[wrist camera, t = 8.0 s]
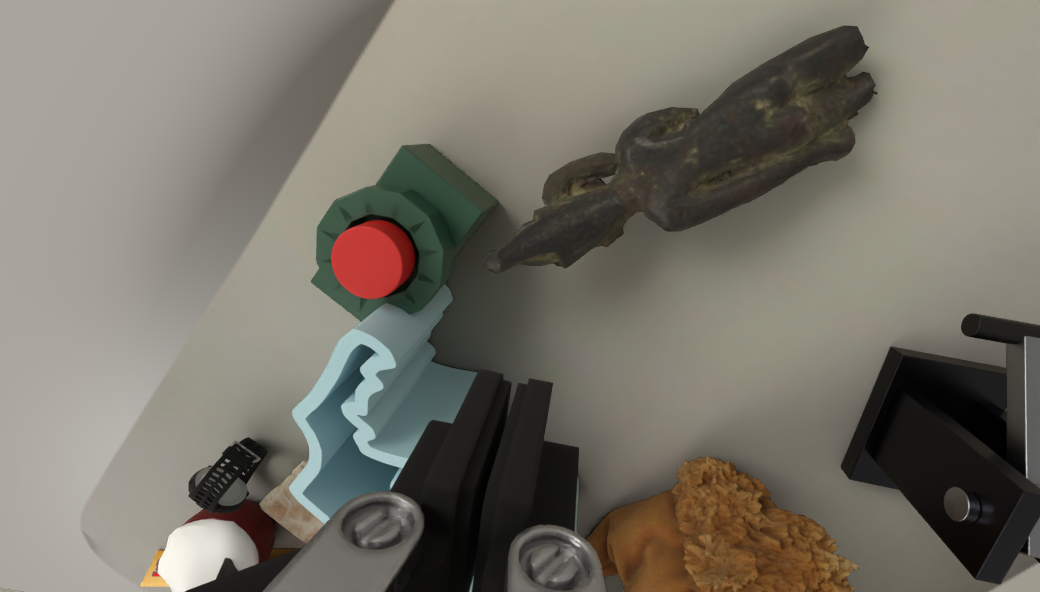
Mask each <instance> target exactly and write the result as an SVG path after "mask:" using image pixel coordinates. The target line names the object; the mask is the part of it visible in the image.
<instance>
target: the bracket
mask: <svg viewBox="0 0 1040 592" xmlns="http://www.w3.org/2000/svg"><path fill="white" fill-rule="evenodd" d="M1006 408H1007V394H1006V368H1003V367H998V366H992V365H987V364H981V363H976V362H971V361H965V360H960V359H955V358H949V357H944V356H938V355H933V354H928V353H922V352H917V351H912V350H906V349H901V348H895V347H890V349H889V352H888V354H887V357H886V359H885V361H884V364H883V366H882V369H881V371H880V373H879V376H878V378H877V381H876V383H875V385H874V388H873V390H872V393H871V395H870V397H869V400H868V402H867V405H866V407H865V409H864V412H863V414H862V417H861V419H860V421H859V424H858V426H857V429H856V431H855V433H854V436H853V438H852V441H851V443H850V445H849V448H848V450H847V453H846V455H845V457H844V460H843V462H842V465H841V469H842V470H843V471H844V473H845V474H846V475H847V477H848V478H849V479H850V480H855V481H860V482H865V483H869V484H874V485H879V486H884V487H889V488H893V489H898V490H900V491H901V493H902V494H903V495H904V496H905V497H906V498H907V500H908V501H909V502H910V503H911V504H912V505H913V507H914V508H915V509H916V510H917V511H918V513H919V514H920V515H921V516H922V517H923V518H924V520H925V521H926V522H927V523H928V524H929V525H930V527H931V528H932V529H933V530H934V531H935V533H936V534H937V535H938V536H939V537H940V538H941V540H942V541H943V542H944V543H945V544H946V545H947V547H948V548H949V549H950V550H951V551H952V553H953V554H954V555H955V556H956V557H957V558H958V560H959V561H960V562H961V563H962V564H963V565H964V567H965V568H966V569H967V570H968V571H969V573H970V574H971V575H972V576H973V577H974V578H975V579H976V580H980V581H985V582H989V583H994V584H998V585H999V584H1001V583H1002V581H1003V579H1004V578H1005V576H1006V574H1007V572H1008V571H1009V569H1010V567H1011V566H1012V564H1013V562H1014V560H1015V559H1016V557H1017V555H1018V554H1019V552H1020V550H1021V548H1022V547H1023V545H1024V543H1025V542H1026V540H1027V538H1028V537H1029V535H1030V533H1031V531H1032V530H1033V528H1034V526H1035V525H1036V523H1037V521H1038V519H1039V518H1040V488H1039V487H1037V486H1036V485H1035V484H1034V483H1032V482H1031V481H1030V480H1029V479H1027V478H1026V477H1025V476H1024V475H1022V474H1021V473H1020V472H1019V471H1017V470H1016V469H1015V468H1014V467H1012V466H1011V465H1010V464H1009V463H1007V412H1005V410H1006ZM1034 558H1035V559H1036V560H1037V561H1038V562H1039V563H1040V558H1036V557H1034Z"/></svg>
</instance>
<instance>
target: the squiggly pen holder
mask: <svg viewBox="0 0 1040 592" xmlns="http://www.w3.org/2000/svg"><path fill="white" fill-rule="evenodd" d="M452 300H453V296H452V293H451V291H450V289H449V288H448V287H447V286H446V285H445V284H444V285H443V286H442V288H441V289H440V290H439V291H438V293H437V294H436V295H435V296H434V298H433V299H432V300H431V301H430V302H429V303H428V304H427V305H426V306H425V307H424V308H423V309H422V310H420V311H418V312H415V313H412V314H408V313H407V312H405V311H404V310H403V309H401V308H398V307H396V306H394V305H391V304H388V303H386V304H384V305H382V306H381V307H379V308H378V309H377V310H375V311H374V312H373V313H372V314H370V315H369V316H368V317H367V318H365V319H364V320H363V321H362V322H361V323H359V324H358V325H357V326H356V327H354V328H353V329H352V330H351V331H349V332H348V333H347V334H346V335H344V336H343V337H342V338H341V339H340V341H339V342H338V344H337V346H336V348H335V350H334V352H333V354H332V356H331V358H330V361H329V363H328V365H327V367H326V369H325V371H324V373H323V374H322V376H321V377H320V379H319V380H318V382H317V383H316V385H315V386H314V388H313V389H312V391H311V392H310V393H309V394H308V395H307V396H306V397H305V398H304V399H303V400H302V401H301V402H300V403H299V404H298V405H297V406H296V407H295V408H294V409H293V410H292V415H293V418H294V420H295V421H296V423H297V424H298V426H299V427H300V428H301V430H302V431H303V433H304V435H305V437H306V439H307V442H308V445H309V460H308V463H307V465H306V466H305V468H304V469H303V470H302V471H301V472H300V474H299V475H298V476H297V477H296V479H295V480H294V481H293V482H292V484H291V485H290V486H289V490H290V492H291V493H292V495H293V496H294V497H295V498H296V500H297V501H298V502H299V503H301V504H302V505H303V506H304V507H305V508H306V509H307V510H308V511H310V512H311V513H312V514H313V515H314V516H316V517H317V518H318V519H319V520H320V521H321V522H323V523H324V524H325V523H326V522H327V521H328V520H329V519H330V518H331V517H332V516H333V515H334V514H335V513H336V511H337V510H338V509H339V508H340V507H342V506H343V505H344V504H345V503H347V502H348V501H349V500H351V499H353V498H355V497H357V496H359V495H361V494H366V493H370V492H374V491H390V490H391V488H392V486H393V484H394V483H395V481H396V479H397V477H398V476H399V474H400V472H401V470H402V469H403V467H404V465H405V463H406V462H407V460H408V458H409V456H410V455H411V453H412V451H413V449H414V448H415V446H416V444H417V442H418V441H419V439H420V437H421V435H422V434H423V432H424V430H425V428H426V427H427V425H428V423H429V422H430V421H431V420H438V421H443V422H448V423H453V422H454V420H455V418H456V415H457V413H458V411H459V409H460V407H461V405H462V403H463V401H464V399H465V397H466V395H467V393H468V391H469V389H470V387H471V385H472V383H473V381H474V379H475V377H476V375H477V373H478V372H473V371H466V370H460V369H455V368H450V367H447V366H443V365H440V364H437V363H434V362H432V361H431V360H432V358H433V357H434V356H435V354H436V351H435V348H434V347H433V346H432V345H431V344H430V343H429V342H427V340H428V339H429V338H430V337H431V330H432V329H433V328H434V327H435V326H436V324H437V323H438V322H439V321H440V320H441V318H442V317H443V311H444V310H445V309H446V307H447V306H448V305H449V304H450V303H451V302H452ZM578 494H579V478H578V477H577V496H576V515H575V532H576V533H577V514H578ZM473 578H474V576H473ZM472 586H473V580H472V583H471V587H470V591H469V592H472Z"/></svg>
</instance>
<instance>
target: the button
mask: <svg viewBox="0 0 1040 592" xmlns="http://www.w3.org/2000/svg"><path fill="white" fill-rule="evenodd" d="M331 261H332V267H333V271H334V273H335V275H336V277H337V279H338V281H339V282H340V283H341V284H342V286H343V287H344V288H345V289H347V290H348V291H349V292H351V293H352V294H354V295H356V296H358V297H361V298H366V299H378V298H382V297H385V296H387V295H389V294H390V293H392V292H393V291H394V290H395V289H397V288H398V287H399V286H401V285H402V284H403V283H404V282H405V281H407V279H408V278H409V277H410V275H411V274H412V272H413V269H414V265H415V252H414V248H413V245H412V243H411V241H410V239H409V237H408V236H407V235H406V234H405V232H404V231H403V230H401V229H400V228H399V227H398V226H396V225H394V224H392V223H390V222H387V221H383V220H372V221H368V222H365V223H363V224H360V225H357V226H355V227H352V228H350V229H348V230H346V231H345V232H343V233H342V234H341V235H340V236H339V237H338V239H337V240H336V242H335V244H334V246H333V250H332V256H331Z"/></svg>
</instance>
